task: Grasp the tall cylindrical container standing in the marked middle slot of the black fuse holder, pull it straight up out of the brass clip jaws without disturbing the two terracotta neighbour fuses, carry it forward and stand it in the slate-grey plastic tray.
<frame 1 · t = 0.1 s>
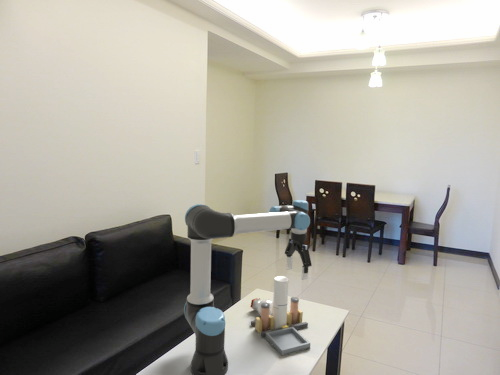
hand: (296, 274, 170), 28 cm above the table, fingers open, 13 cm apart
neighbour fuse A: (264, 329, 172), resting in fuse holder
potion bottle: (262, 315, 186), on the table
fuse holder: (279, 325, 175), on the table
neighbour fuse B: (293, 322, 179), resting in fuse holder
tray: (287, 342, 161), on the table
cylindrical container: (279, 326, 175), resting in fuse holder
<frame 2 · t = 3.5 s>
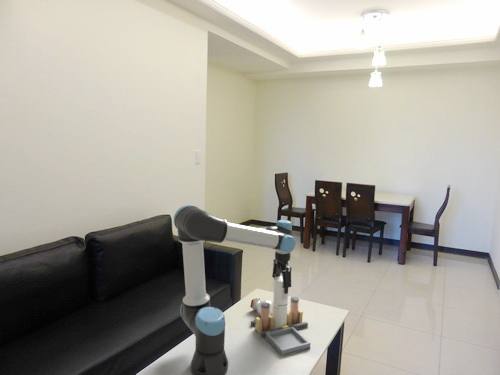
hand: (280, 295, 173), 16 cm above the table, fingers closed on cylindrical container, 7 cm apart
cylindrical container: (279, 326, 175), resting in fuse holder, touching gripper
everything else where it was.
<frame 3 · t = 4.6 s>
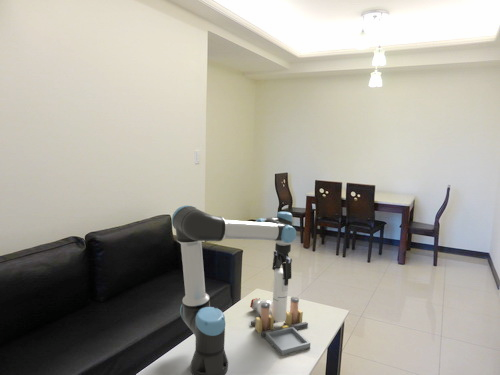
hand: (280, 287, 172), 20 cm above the table, fingers closed on cylindrical container, 7 cm apart
cylindrical container: (278, 318, 174), point 4 cm above the table, touching gripper
everything else where it was.
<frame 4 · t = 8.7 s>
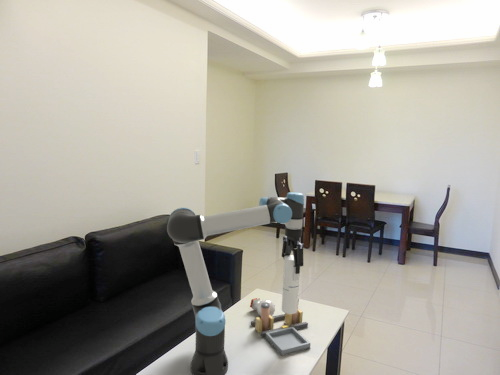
hand: (291, 276, 156), 32 cm above the table, fingers closed on cylindrical container, 7 cm apart
cylindrical container: (289, 310, 158), point 16 cm above the table, touching gripper
everything else where it was.
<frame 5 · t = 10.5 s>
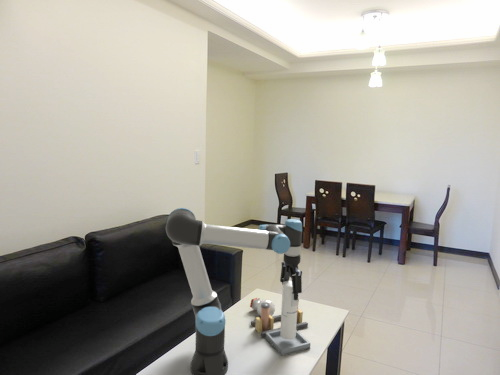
hand: (289, 302, 158), 20 cm above the table, fingers closed on cylindrical container, 7 cm apart
cylindrical container: (288, 335, 160), point 4 cm above the table, touching gripper
everything else where it was.
when the fingers open (18 cm above the table, at t = 11.5 s): cylindrical container drops 1 cm, resting on tray.
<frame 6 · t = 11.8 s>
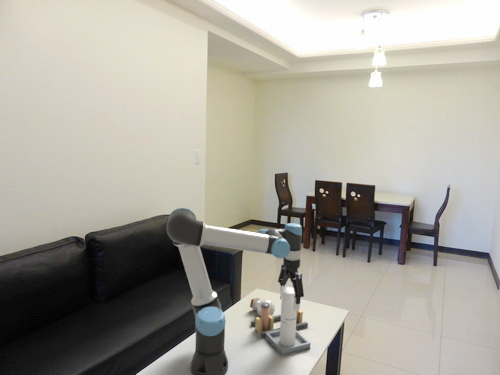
hand: (289, 304, 158), 19 cm above the table, fingers open, 11 cm apart
cylindrical container: (287, 342, 160), resting on tray
everything else where it was.
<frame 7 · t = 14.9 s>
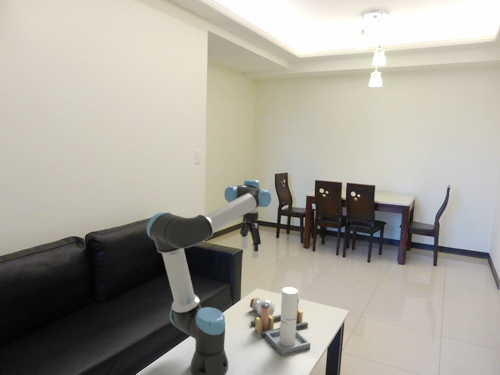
hand: (249, 253, 172), 37 cm above the table, fingers open, 13 cm apart
nothing on the table moved.
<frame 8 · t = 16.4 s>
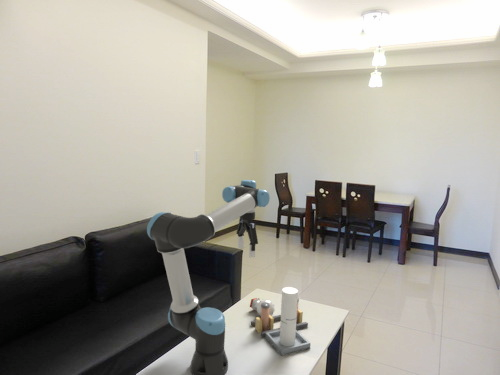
hand: (246, 252, 173), 37 cm above the table, fingers open, 13 cm apart
nothing on the table moved.
at the end: cylindrical container 0.1 cm from the tray (horizontally); cylindrical container tilted 0°; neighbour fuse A moved 0.0 cm from its start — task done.
